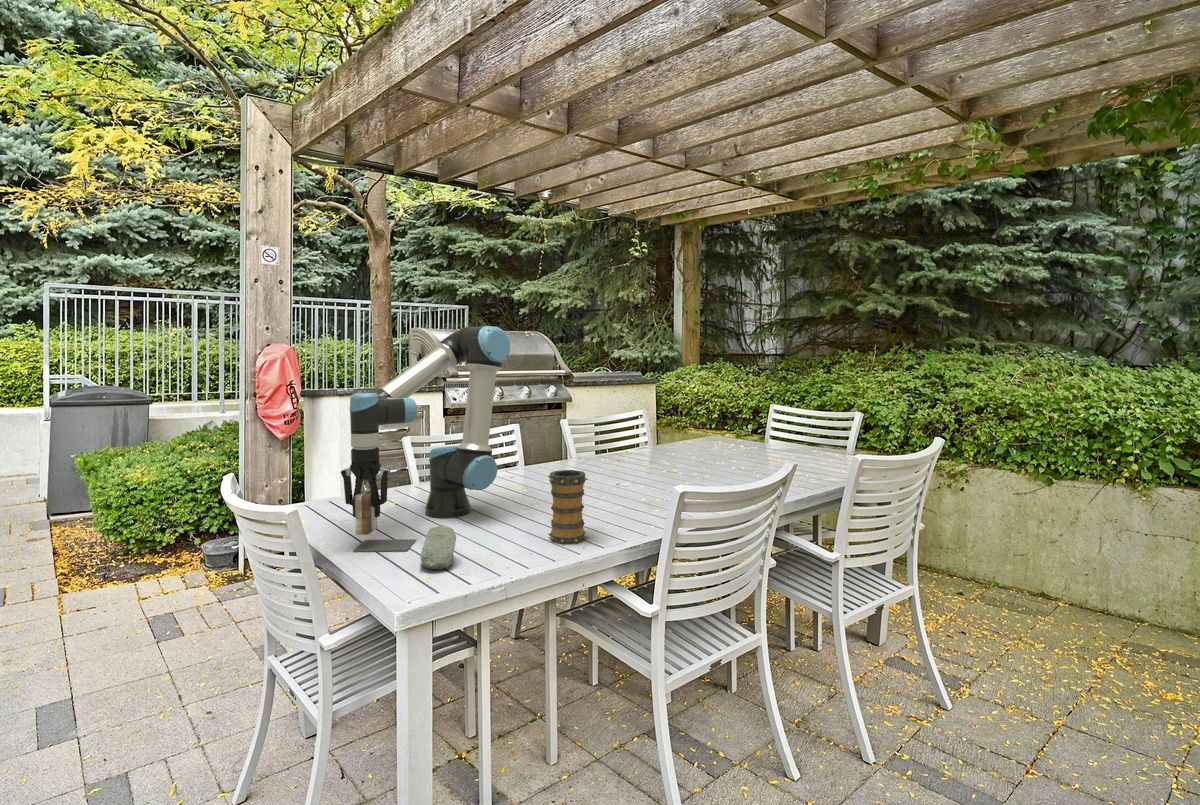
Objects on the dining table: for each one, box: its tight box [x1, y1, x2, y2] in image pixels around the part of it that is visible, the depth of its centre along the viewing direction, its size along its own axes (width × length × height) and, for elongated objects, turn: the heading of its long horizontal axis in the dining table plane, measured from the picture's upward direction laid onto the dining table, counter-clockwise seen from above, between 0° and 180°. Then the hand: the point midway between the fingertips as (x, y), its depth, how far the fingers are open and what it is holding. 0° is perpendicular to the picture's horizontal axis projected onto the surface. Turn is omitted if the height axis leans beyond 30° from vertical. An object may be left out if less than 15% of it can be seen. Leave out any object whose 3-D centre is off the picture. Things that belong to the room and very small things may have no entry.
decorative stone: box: [420, 524, 457, 570], centre depth 166 cm, size 13×11×10 cm
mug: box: [547, 469, 589, 545], centre depth 189 cm, size 13×17×20 cm
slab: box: [354, 489, 378, 536], centre depth 179 cm, size 4×8×11 cm, turn 2°
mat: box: [352, 538, 417, 553], centre depth 180 cm, size 15×10×1 cm, turn 92°
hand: (366, 527), depth 180 cm, fingers closed on slab, 3 cm apart
